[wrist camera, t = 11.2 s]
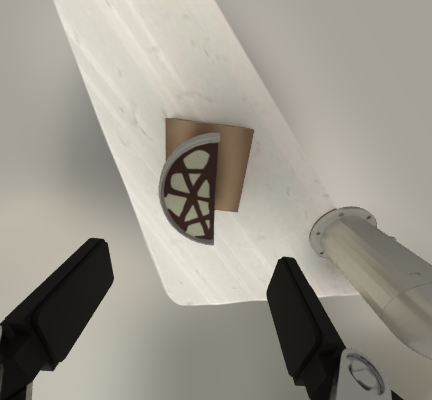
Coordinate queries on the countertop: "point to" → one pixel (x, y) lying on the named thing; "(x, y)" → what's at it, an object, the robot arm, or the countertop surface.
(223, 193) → the walnut stand
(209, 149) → the food container
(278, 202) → the countertop surface
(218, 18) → the countertop surface
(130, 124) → the countertop surface
